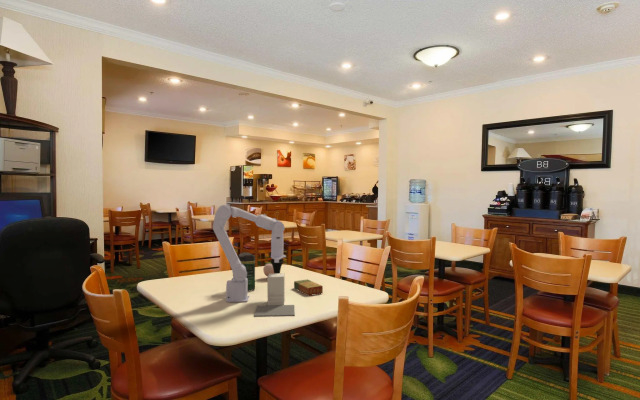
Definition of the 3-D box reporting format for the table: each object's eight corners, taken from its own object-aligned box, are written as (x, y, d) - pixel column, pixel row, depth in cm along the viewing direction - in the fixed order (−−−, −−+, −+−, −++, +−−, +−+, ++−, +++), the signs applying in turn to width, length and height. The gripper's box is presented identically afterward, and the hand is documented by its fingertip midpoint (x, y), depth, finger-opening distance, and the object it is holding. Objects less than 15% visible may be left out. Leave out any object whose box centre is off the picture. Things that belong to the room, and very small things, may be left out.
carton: (307, 296, 173) (307, 287, 173) (293, 288, 187) (293, 280, 187) (322, 294, 177) (322, 285, 177) (307, 286, 191) (307, 278, 191)
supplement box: (285, 300, 165) (285, 273, 165) (284, 305, 157) (284, 276, 157) (268, 300, 164) (269, 272, 164) (267, 305, 157) (267, 276, 157)
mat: (254, 316, 143) (254, 315, 143) (257, 306, 156) (257, 305, 156) (294, 315, 144) (294, 314, 144) (294, 305, 157) (294, 304, 157)
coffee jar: (257, 290, 181) (257, 253, 181) (241, 292, 177) (241, 254, 177) (251, 286, 190) (251, 251, 189) (236, 288, 186) (236, 252, 186)
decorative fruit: (260, 279, 205) (260, 261, 205) (267, 276, 213) (267, 259, 213) (274, 281, 202) (274, 263, 202) (281, 277, 209) (281, 260, 209)
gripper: (285, 248, 163) (285, 278, 163) (286, 244, 177) (285, 271, 177) (269, 248, 162) (269, 278, 162) (271, 244, 176) (271, 271, 177)
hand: (277, 275), depth 170 cm, fingers open, 3 cm apart
